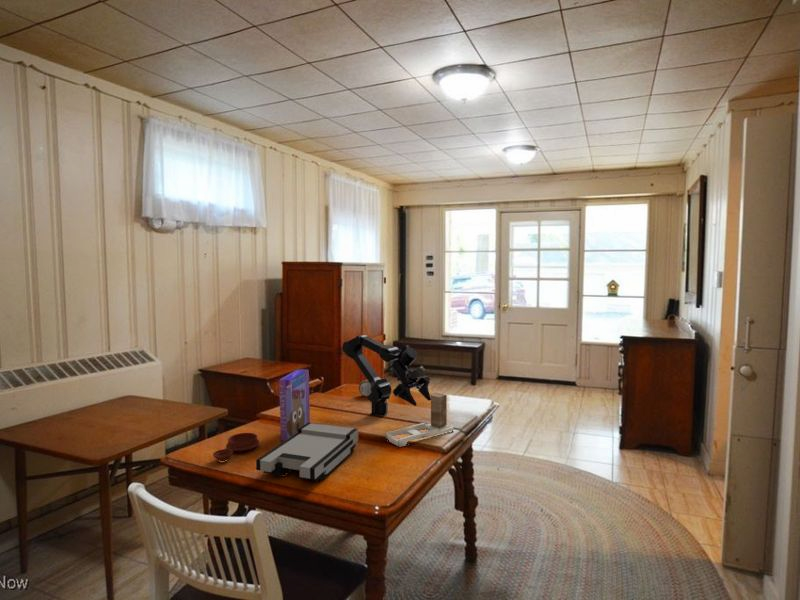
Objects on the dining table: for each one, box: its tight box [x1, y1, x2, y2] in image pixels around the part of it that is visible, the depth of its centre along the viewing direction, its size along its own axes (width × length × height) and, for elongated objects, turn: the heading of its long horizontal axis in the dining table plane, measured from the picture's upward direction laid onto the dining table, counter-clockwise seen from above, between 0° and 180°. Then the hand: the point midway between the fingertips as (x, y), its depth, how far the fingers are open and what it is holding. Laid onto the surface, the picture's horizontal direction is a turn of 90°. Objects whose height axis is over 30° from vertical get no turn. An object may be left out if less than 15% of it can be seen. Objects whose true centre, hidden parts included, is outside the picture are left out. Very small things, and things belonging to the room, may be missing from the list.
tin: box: [358, 379, 371, 398], centre depth 243 cm, size 15×3×8 cm, turn 84°
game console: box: [255, 422, 359, 482], centre depth 164 cm, size 21×32×8 cm, turn 161°
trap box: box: [385, 422, 455, 448], centre depth 189 cm, size 26×9×3 cm, turn 125°
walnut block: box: [430, 392, 448, 428], centre depth 194 cm, size 4×4×12 cm
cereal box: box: [278, 368, 311, 442], centre depth 192 cm, size 17×5×24 cm, turn 168°
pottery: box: [212, 432, 260, 461], centre depth 174 cm, size 12×20×4 cm, turn 161°
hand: (423, 402), depth 199 cm, fingers open, 9 cm apart
